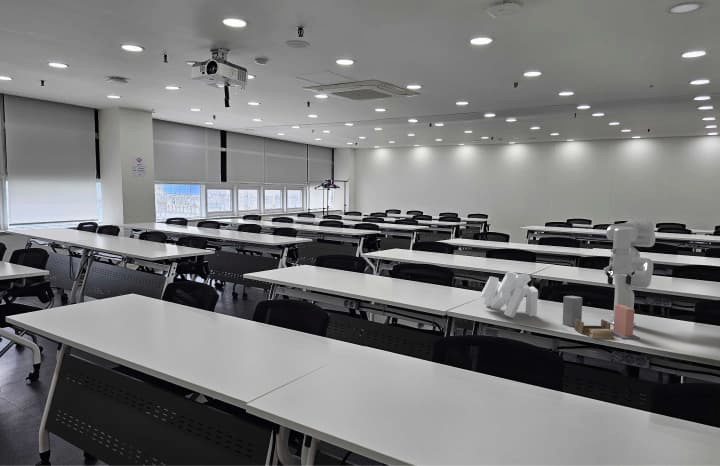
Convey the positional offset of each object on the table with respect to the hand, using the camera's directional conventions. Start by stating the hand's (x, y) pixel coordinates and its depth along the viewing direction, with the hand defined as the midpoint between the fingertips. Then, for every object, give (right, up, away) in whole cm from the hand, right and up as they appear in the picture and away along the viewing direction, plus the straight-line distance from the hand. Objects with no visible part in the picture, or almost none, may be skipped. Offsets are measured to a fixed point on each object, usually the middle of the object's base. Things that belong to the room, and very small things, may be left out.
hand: (619, 284), depth 233 cm
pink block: (+1, -25, -1) cm, 25 cm away
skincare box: (-17, -25, +16) cm, 34 cm away
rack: (-13, -26, +2) cm, 29 cm away
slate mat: (+1, -26, -1) cm, 26 cm away
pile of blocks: (-46, -22, +39) cm, 64 cm away
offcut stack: (-13, -26, -6) cm, 30 cm away
